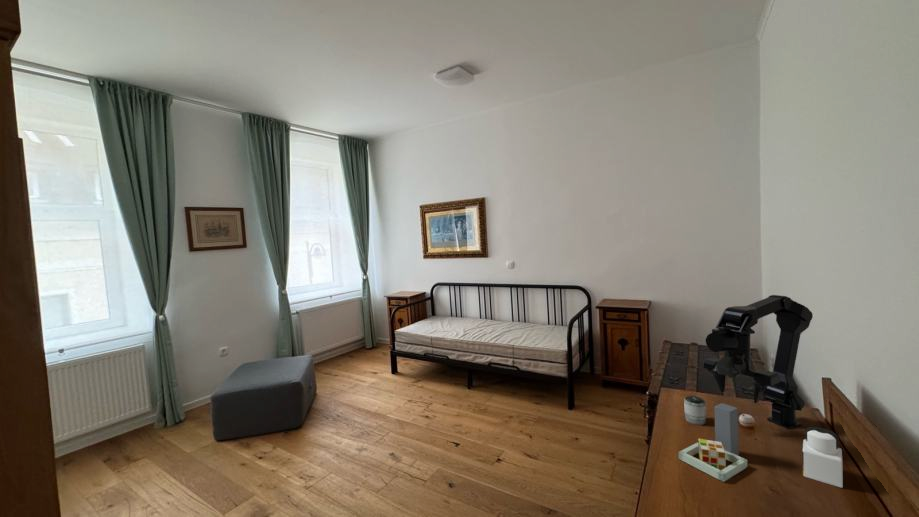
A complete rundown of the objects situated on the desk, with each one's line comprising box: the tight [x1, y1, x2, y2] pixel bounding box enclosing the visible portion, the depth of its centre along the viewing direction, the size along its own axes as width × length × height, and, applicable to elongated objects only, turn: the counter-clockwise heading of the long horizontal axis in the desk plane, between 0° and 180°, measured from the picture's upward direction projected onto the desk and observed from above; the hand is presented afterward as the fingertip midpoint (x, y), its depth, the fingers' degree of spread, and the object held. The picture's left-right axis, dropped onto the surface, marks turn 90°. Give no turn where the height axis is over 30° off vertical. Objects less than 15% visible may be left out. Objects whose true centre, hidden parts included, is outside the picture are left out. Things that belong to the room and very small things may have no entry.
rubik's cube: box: [697, 438, 727, 470], centre depth 101 cm, size 6×6×6 cm
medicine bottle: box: [802, 426, 844, 489], centre depth 94 cm, size 7×7×12 cm
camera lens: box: [683, 395, 707, 426], centre depth 124 cm, size 6×6×8 cm
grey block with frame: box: [678, 402, 749, 483], centre depth 102 cm, size 15×12×14 cm
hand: (738, 397), depth 113 cm, fingers open, 9 cm apart
